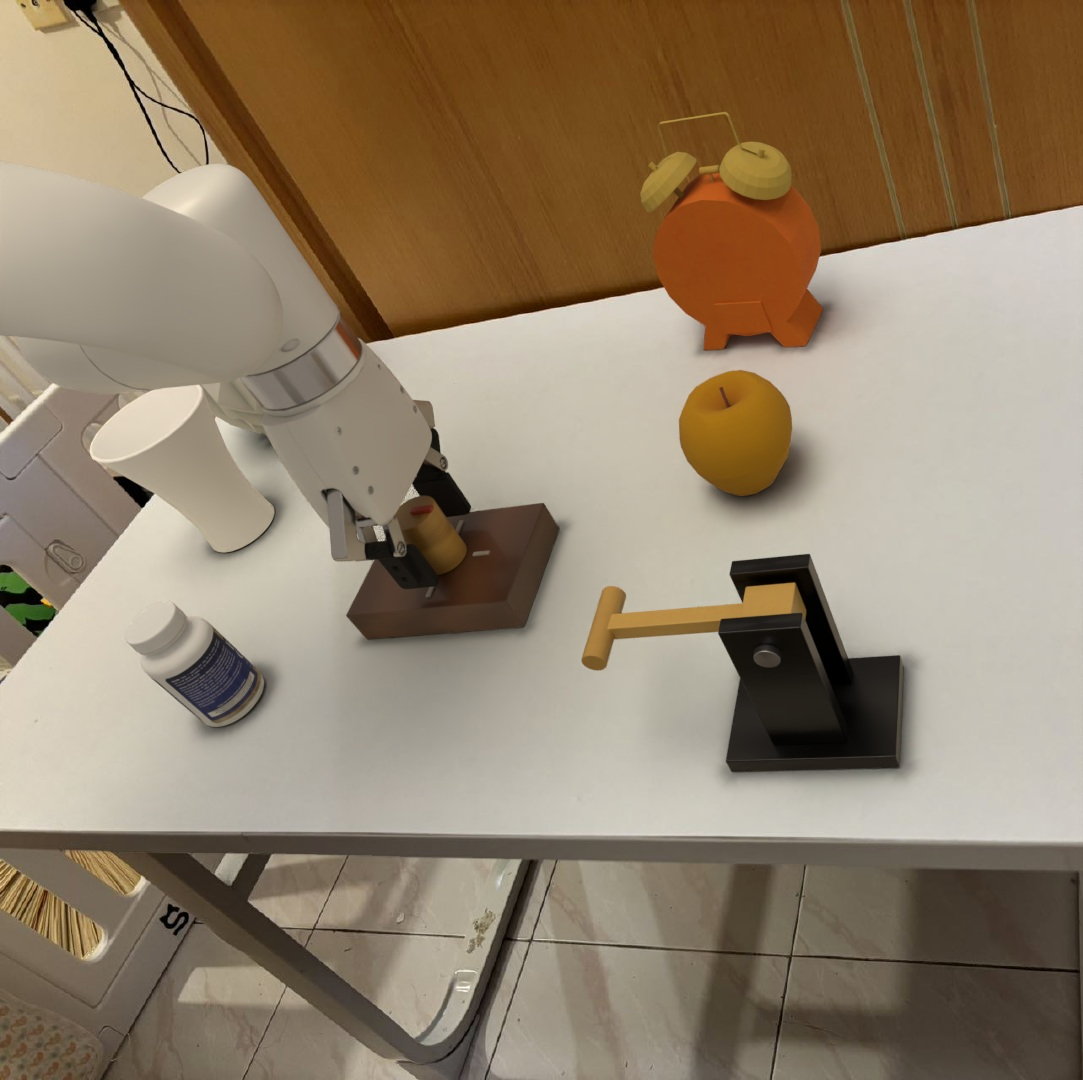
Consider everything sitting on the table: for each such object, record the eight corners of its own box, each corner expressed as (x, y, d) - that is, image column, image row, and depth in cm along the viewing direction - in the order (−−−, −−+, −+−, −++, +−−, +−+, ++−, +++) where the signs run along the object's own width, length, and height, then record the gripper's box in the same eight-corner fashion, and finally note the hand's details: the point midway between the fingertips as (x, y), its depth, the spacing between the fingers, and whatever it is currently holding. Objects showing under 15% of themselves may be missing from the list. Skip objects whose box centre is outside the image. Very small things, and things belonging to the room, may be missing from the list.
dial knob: (417, 577, 77) (380, 530, 74) (433, 542, 80) (398, 495, 76) (458, 573, 76) (422, 524, 72) (473, 538, 78) (439, 489, 75)
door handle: (590, 676, 57) (573, 651, 55) (610, 607, 60) (595, 581, 58) (800, 664, 53) (788, 636, 51) (809, 590, 56) (798, 562, 54)
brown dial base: (366, 639, 79) (344, 614, 77) (412, 545, 85) (392, 519, 83) (524, 627, 74) (505, 599, 72) (559, 528, 81) (543, 500, 79)
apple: (823, 492, 74) (792, 399, 68) (715, 534, 75) (676, 446, 69) (792, 427, 81) (761, 336, 75) (693, 466, 81) (655, 380, 75)
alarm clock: (842, 303, 90) (783, 84, 77) (822, 346, 87) (757, 124, 73) (710, 311, 96) (634, 109, 83) (687, 352, 93) (604, 147, 79)
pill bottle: (279, 671, 79) (198, 591, 73) (243, 729, 76) (155, 651, 69) (227, 671, 81) (144, 593, 75) (190, 728, 78) (99, 652, 71)
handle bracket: (731, 772, 60) (663, 652, 52) (747, 675, 65) (687, 552, 57) (899, 768, 57) (854, 639, 49) (903, 666, 61) (863, 534, 54)
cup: (304, 524, 93) (209, 412, 84) (199, 588, 91) (91, 480, 82) (283, 473, 100) (195, 364, 91) (187, 530, 98) (86, 426, 89)
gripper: (311, 294, 72) (435, 475, 84) (189, 460, 61) (353, 642, 73) (400, 275, 70) (514, 464, 82) (289, 444, 58) (442, 635, 70)
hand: (437, 546), depth 77 cm, fingers open, 6 cm apart
